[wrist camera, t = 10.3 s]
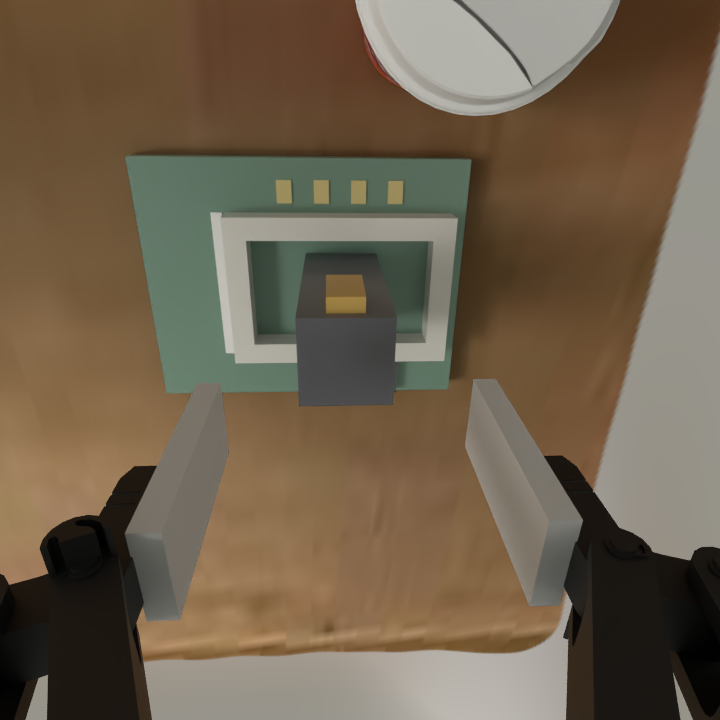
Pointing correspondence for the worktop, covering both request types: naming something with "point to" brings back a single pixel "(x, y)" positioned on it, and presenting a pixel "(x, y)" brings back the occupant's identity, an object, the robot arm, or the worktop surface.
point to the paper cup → (481, 47)
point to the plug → (345, 332)
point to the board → (293, 257)
